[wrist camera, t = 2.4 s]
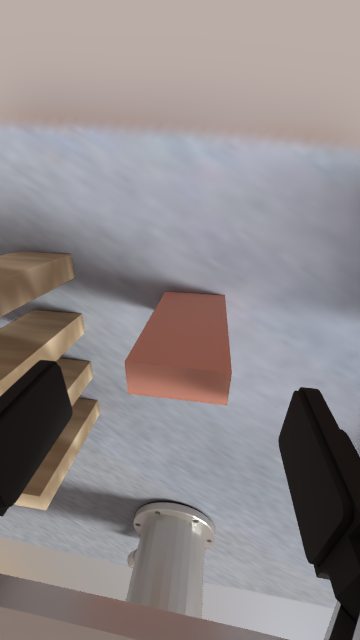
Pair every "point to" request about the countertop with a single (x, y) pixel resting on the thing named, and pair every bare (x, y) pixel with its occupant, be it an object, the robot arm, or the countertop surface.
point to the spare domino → (183, 350)
